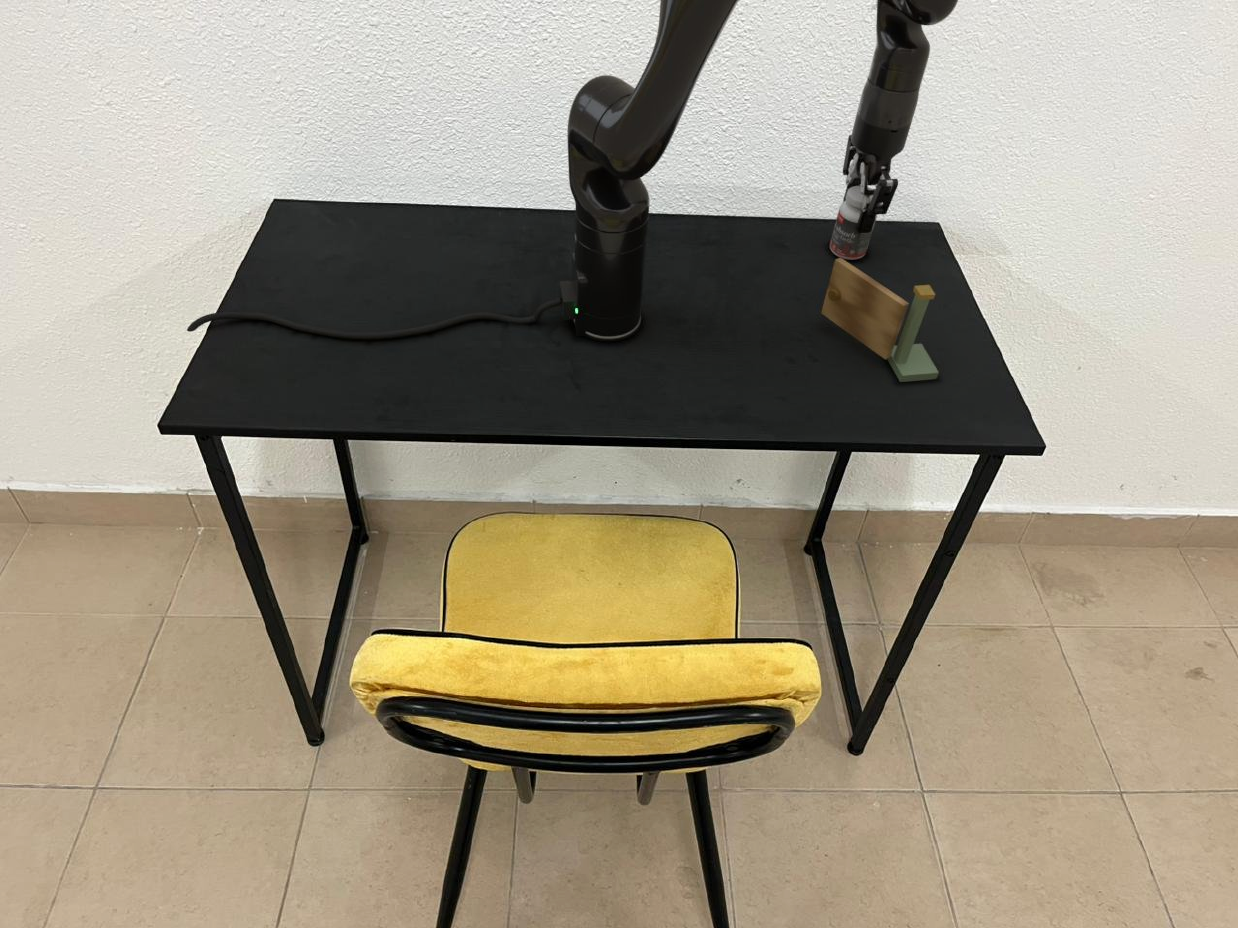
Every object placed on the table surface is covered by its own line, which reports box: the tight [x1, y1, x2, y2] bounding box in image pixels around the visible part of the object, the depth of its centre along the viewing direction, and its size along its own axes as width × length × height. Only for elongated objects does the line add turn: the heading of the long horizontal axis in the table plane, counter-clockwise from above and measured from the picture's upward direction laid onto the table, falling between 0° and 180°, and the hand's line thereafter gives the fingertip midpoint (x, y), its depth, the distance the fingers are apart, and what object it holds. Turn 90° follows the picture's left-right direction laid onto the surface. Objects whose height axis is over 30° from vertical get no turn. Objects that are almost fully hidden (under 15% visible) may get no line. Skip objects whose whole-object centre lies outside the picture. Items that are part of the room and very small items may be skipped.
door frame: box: [887, 284, 940, 383], centre depth 119 cm, size 5×6×13 cm
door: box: [820, 257, 910, 361], centre depth 122 cm, size 12×2×9 cm, turn 38°
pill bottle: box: [829, 186, 878, 261], centre depth 138 cm, size 6×6×10 cm
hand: (856, 219), depth 138 cm, fingers closed on pill bottle, 5 cm apart
